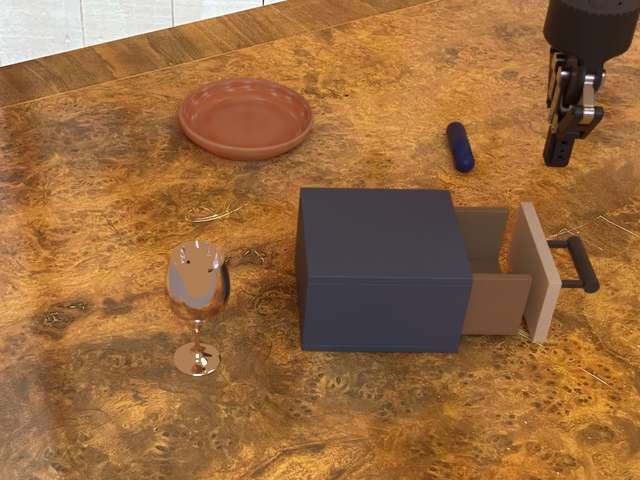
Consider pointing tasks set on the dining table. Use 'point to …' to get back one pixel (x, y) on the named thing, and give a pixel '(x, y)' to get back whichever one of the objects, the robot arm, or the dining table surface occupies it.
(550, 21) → the robot arm
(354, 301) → the cabinet
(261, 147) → the saucer
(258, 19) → the dining table surface
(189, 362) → the wineglass
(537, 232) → the drawer
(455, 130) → the blue capsule
